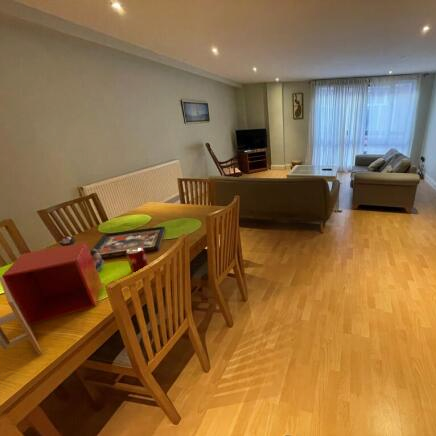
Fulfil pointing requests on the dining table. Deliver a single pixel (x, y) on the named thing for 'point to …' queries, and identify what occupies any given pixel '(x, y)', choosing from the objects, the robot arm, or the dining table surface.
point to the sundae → (67, 241)
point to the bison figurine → (97, 259)
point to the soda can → (136, 258)
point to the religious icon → (129, 241)
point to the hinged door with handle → (18, 314)
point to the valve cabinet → (54, 282)
